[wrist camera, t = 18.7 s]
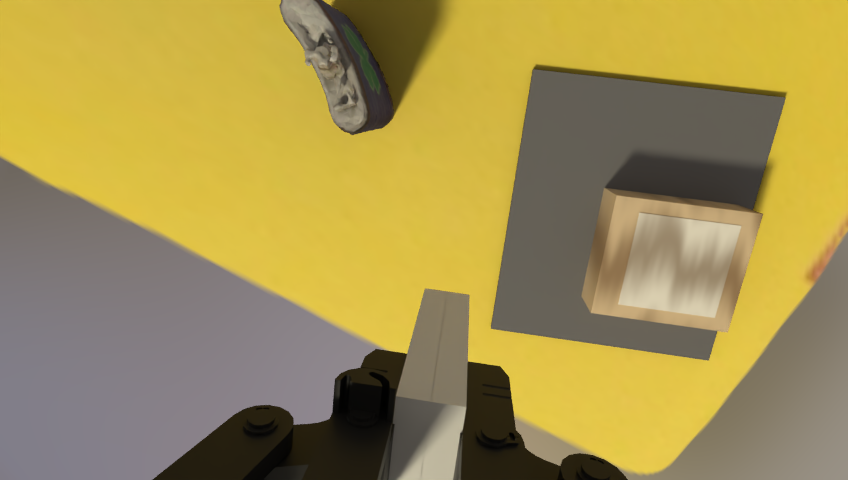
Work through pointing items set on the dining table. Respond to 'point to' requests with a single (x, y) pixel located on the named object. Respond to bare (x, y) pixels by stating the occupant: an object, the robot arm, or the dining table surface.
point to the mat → (624, 170)
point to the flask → (341, 65)
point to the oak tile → (669, 259)
